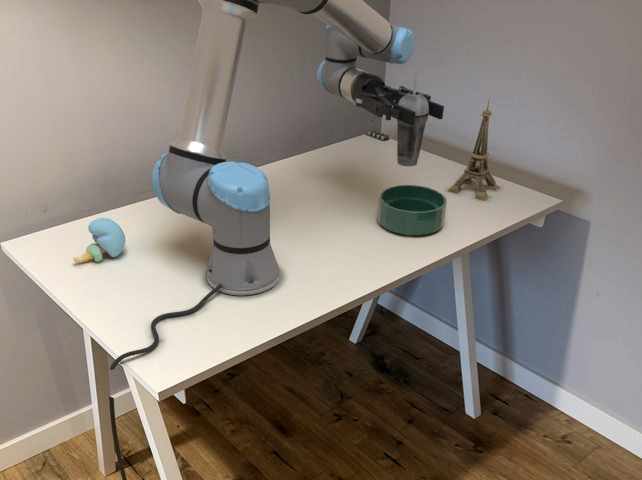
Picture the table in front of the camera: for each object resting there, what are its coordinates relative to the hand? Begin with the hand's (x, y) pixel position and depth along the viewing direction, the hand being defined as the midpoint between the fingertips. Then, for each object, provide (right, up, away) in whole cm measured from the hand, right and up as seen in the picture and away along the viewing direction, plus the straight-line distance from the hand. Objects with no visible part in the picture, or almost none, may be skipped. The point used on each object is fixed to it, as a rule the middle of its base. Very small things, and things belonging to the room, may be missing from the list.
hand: (427, 115), depth 144 cm
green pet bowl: (0, -19, +22) cm, 29 cm away
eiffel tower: (+19, -7, +39) cm, 44 cm away
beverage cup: (-3, -7, +11) cm, 13 cm away
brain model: (-71, -30, +5) cm, 78 cm away
